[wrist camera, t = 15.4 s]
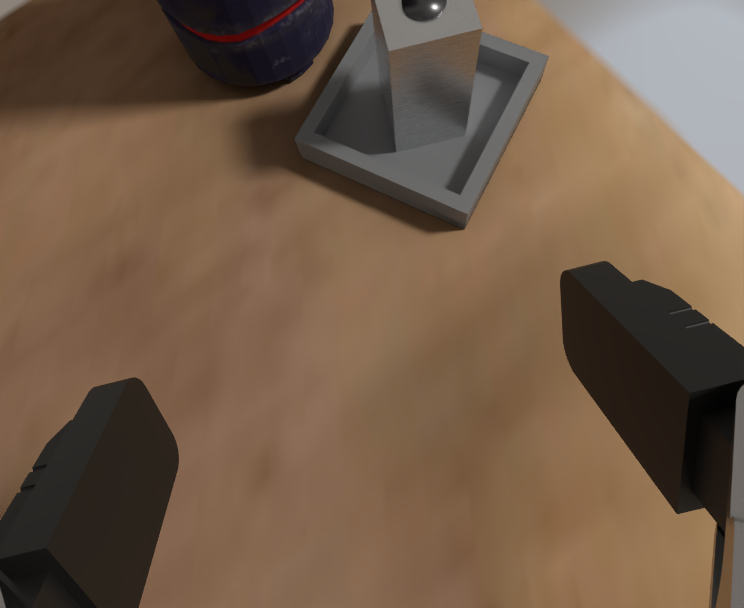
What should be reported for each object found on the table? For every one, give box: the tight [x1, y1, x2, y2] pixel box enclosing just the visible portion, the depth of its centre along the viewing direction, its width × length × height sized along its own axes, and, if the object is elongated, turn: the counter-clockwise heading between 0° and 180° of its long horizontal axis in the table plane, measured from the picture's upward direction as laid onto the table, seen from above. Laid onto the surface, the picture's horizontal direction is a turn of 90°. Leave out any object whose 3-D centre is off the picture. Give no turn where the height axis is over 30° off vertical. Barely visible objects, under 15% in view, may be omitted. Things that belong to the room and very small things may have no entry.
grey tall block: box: [371, 0, 482, 152], centre depth 33 cm, size 5×5×10 cm
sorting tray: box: [294, 11, 549, 229], centre depth 37 cm, size 13×13×2 cm
